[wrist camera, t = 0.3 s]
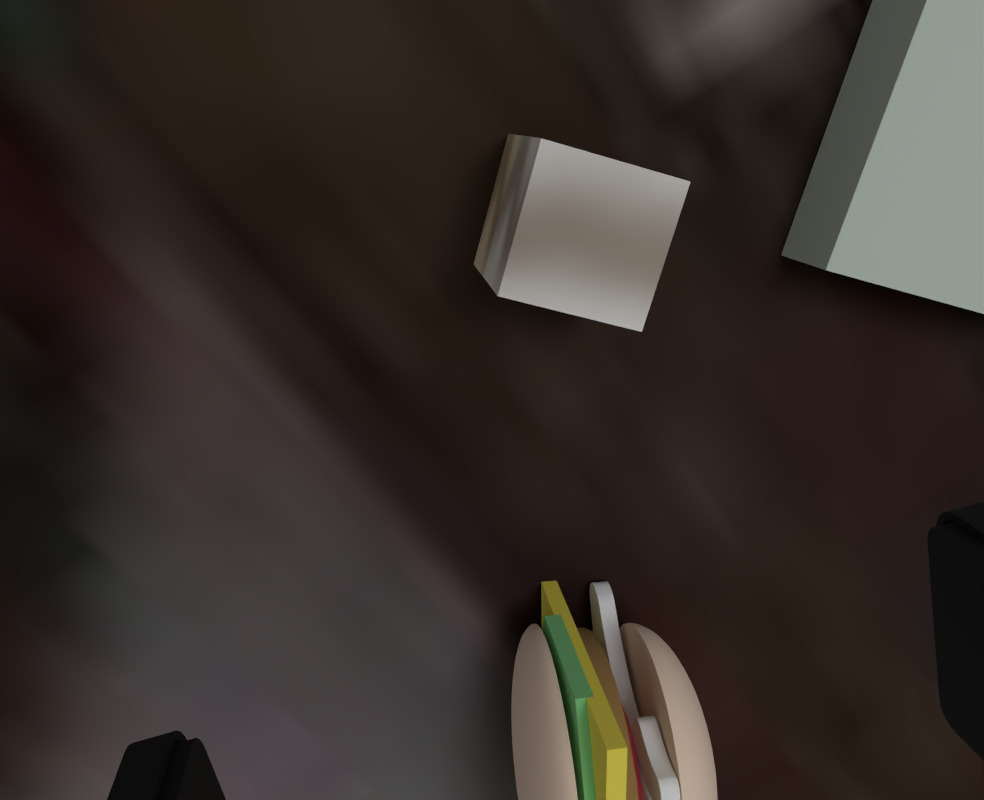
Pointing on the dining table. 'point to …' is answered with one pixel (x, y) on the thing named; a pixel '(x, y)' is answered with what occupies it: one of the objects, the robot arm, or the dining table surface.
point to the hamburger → (604, 711)
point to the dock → (904, 157)
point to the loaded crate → (578, 231)
